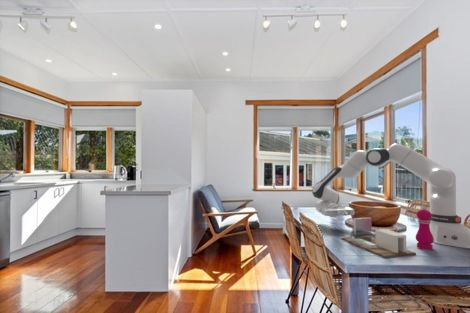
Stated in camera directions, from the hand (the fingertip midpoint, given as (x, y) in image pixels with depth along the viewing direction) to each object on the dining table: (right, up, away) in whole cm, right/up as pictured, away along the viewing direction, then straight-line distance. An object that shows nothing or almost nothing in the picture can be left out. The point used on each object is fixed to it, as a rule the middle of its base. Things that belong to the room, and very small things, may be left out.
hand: (345, 214), depth 159 cm
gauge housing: (+8, -9, -33) cm, 35 cm away
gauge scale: (-2, -9, -26) cm, 27 cm away
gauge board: (+4, -10, -27) cm, 29 cm away
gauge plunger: (+4, -9, -24) cm, 25 cm away
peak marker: (-3, -7, -21) cm, 22 cm away
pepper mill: (+27, -10, -29) cm, 41 cm away
